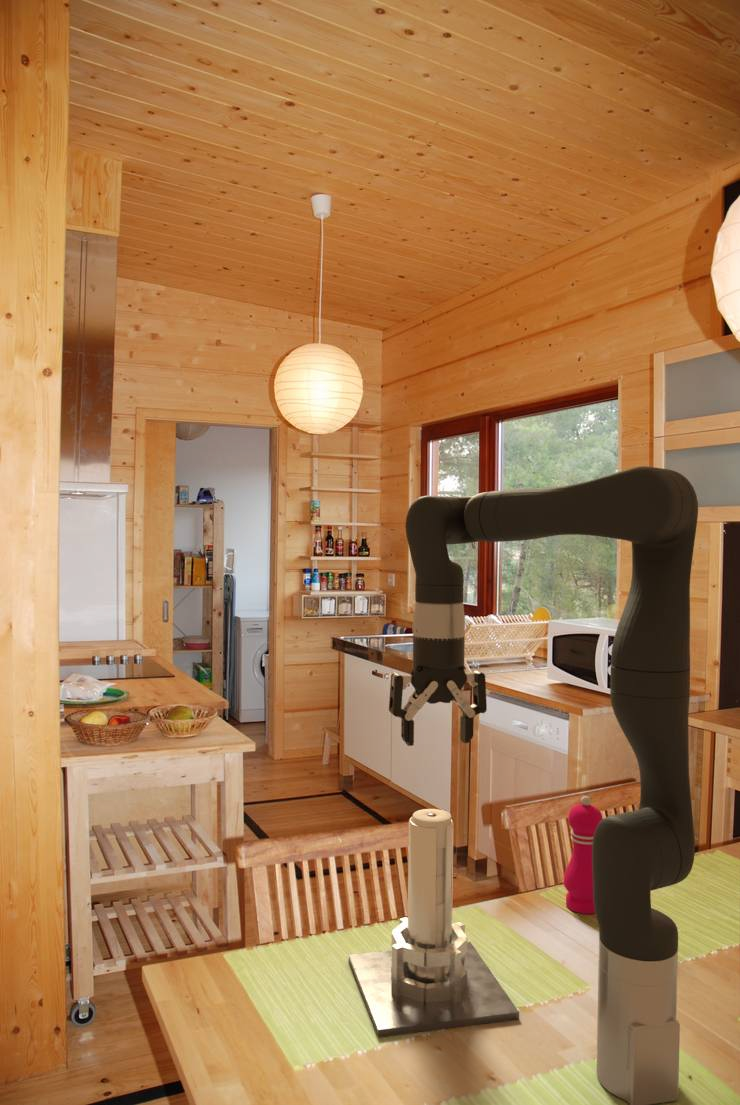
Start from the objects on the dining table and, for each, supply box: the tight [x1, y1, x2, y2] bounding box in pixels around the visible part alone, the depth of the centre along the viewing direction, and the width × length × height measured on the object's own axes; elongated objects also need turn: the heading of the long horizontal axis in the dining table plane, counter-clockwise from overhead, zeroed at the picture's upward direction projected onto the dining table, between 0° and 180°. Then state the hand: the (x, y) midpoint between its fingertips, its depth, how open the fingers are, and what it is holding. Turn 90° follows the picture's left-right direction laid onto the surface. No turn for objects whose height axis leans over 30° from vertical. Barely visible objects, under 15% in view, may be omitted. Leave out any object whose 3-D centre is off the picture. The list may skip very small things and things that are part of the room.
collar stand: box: [348, 916, 520, 1038], centre depth 124 cm, size 20×20×8 cm
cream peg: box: [407, 808, 454, 984], centre depth 124 cm, size 6×6×25 cm
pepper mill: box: [563, 795, 604, 915], centre depth 151 cm, size 7×7×20 cm
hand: (437, 743), depth 124 cm, fingers open, 8 cm apart
